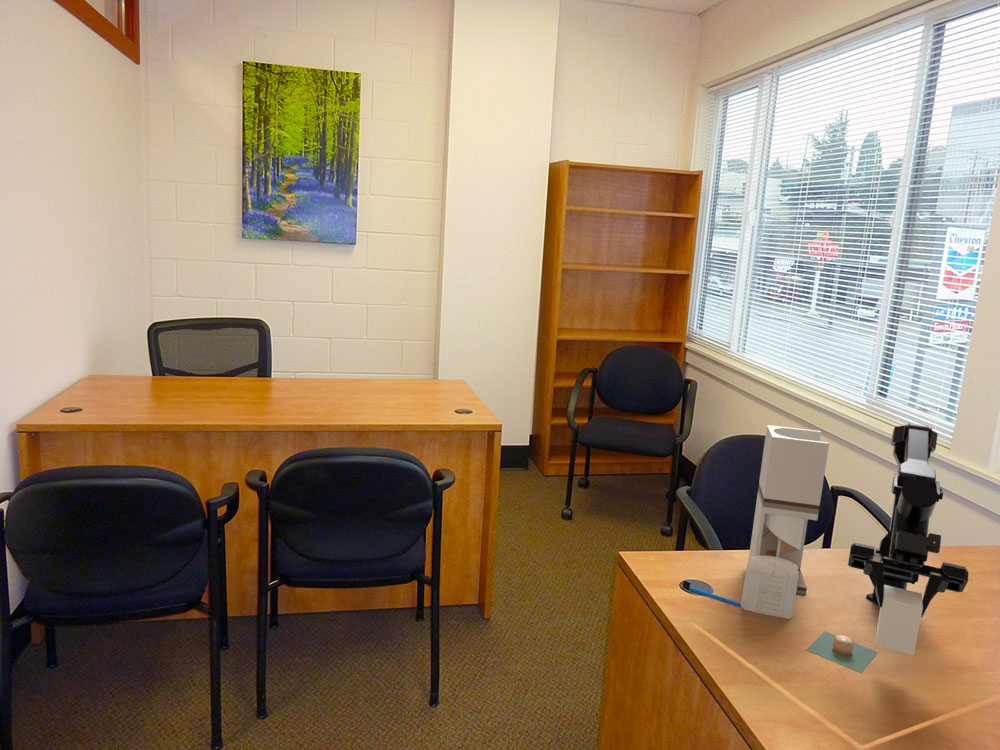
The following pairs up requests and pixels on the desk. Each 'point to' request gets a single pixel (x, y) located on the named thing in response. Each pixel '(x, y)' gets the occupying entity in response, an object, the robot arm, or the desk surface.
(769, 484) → the white coffee grinder
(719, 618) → the desk surface
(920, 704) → the desk surface
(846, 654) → the beige short cylinder
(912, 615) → the white lidded box
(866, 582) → the desk surface
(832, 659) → the mat
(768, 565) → the photo printer
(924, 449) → the robot arm
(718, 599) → the pen
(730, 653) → the desk surface
